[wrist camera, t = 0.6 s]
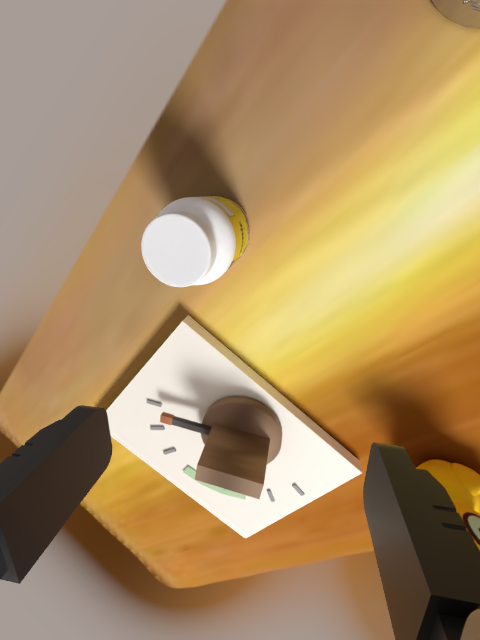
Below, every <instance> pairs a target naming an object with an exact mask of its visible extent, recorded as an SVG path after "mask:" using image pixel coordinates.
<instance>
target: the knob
mask: <svg viewBox="0 0 480 640" xmlns="http://www.w3.org/2000/svg"><path fill="white" fill-rule="evenodd" d="M160 422H161V423H164V424H168V425H174V426H178V427H181V428H185V429H188V430H192V431H195V432H198V433H201V437H202V440H203V443H204V445H205V446H204V449H203V451H202V454H201V456H200V459H199V461H198V464H197V468H196V474H195V480H198V481H201V482H204V483H207V484H211V485H214V486H217V487H220V488H224V489H227V490H230V491H233V492H237V493H240V494H243V495H246V496H250V497H253V498H256V499H260V496H261V492H262V489H263V486H264V480H265V473H266V466H267V464H268V463H270V462H271V461H273V460H274V459H275V458H276V457H277V455H278V454H279V452H280V449H281V444H282V426H281V423H280V421H279V419H278V417H277V416H276V414H275V413H274V412H273V411H272V410H271V409H270V408H269V407H268V406H266V405H265V404H263V403H262V402H260V401H258V400H256V399H253V398H250V397H245V396H228V397H224V398H222V399H219V400H217V401H216V402H214V403H213V404H212V405H211V406H210V407H209V408H208V410H207V412H206V414H205V416H204V418H203V421H202V423H197V422H194V421H190V420H187V419H183V418H180V417H176V416H174V415H172V414H169V413H165V412H162V414H161V417H160Z"/></svg>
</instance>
